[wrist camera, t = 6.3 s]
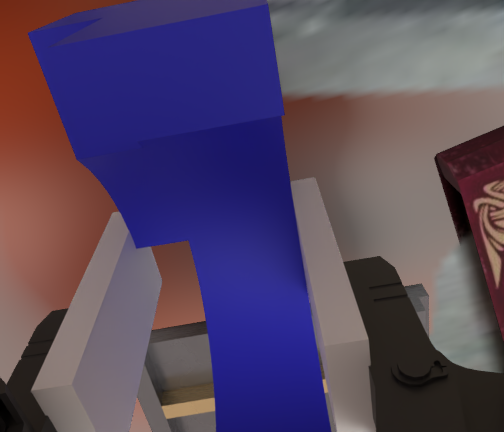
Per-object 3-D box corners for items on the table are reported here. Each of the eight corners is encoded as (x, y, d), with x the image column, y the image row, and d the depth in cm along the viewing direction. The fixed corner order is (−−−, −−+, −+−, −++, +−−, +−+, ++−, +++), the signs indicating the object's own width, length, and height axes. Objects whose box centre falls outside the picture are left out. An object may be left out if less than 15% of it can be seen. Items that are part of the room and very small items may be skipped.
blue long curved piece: (75, 12, 12) (-58, 68, 7) (257, -24, 11) (268, 4, 6) (192, 361, 18) (170, 537, 12) (314, 343, 17) (345, 516, 12)
